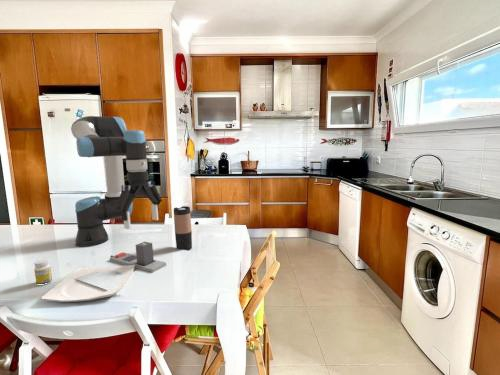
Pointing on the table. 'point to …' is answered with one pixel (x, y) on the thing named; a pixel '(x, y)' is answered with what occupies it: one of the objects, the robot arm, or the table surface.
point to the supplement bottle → (42, 272)
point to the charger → (144, 253)
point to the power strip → (132, 260)
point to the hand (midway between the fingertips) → (142, 224)
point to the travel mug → (183, 228)
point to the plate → (85, 285)
